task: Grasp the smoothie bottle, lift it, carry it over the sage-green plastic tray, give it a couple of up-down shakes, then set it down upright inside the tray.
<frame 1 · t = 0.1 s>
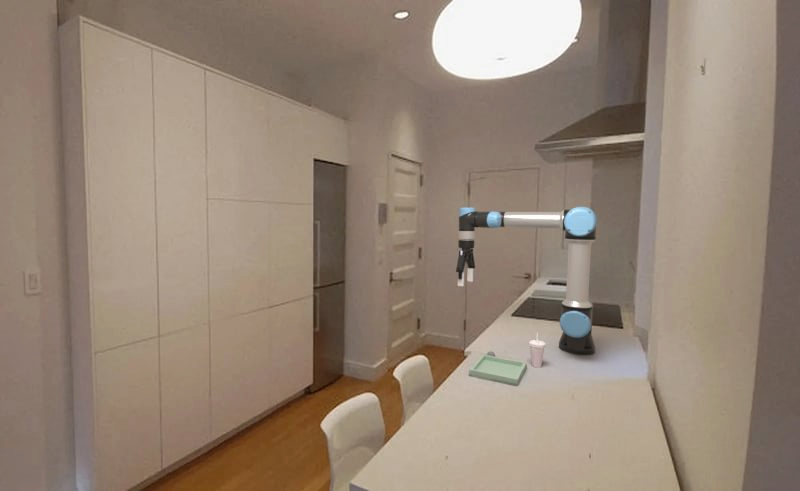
hand: (465, 283, 186), 28 cm above the worktop, fingers open, 13 cm apart
mixing ball: (490, 359, 163), on the worktop
tray: (498, 372, 151), on the worktop
smoothie: (536, 366, 158), on the worktop
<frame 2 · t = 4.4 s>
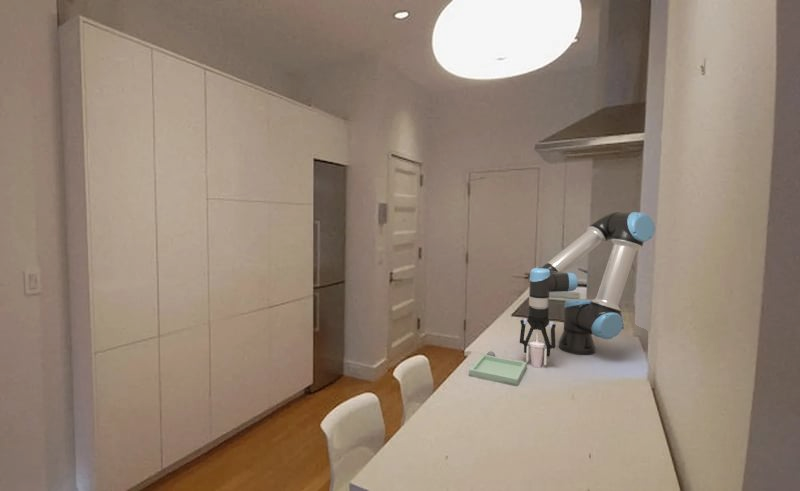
hand: (536, 362, 157), 1 cm above the worktop, fingers closed on smoothie, 6 cm apart
smoothie: (536, 366, 158), on the worktop, touching gripper
everything else where it was.
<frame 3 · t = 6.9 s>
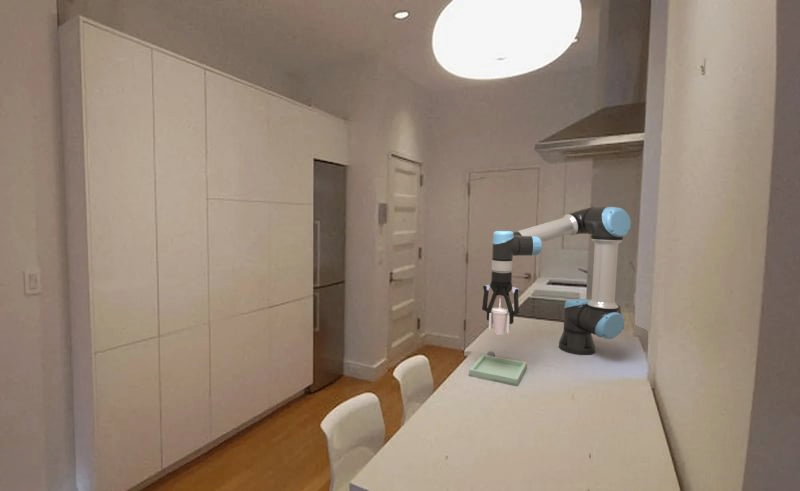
hand: (499, 330, 149), 17 cm above the worktop, fingers closed on smoothie, 6 cm apart
smoothie: (499, 334, 150), point 15 cm above the worktop, touching gripper
everything else where it was.
when the fingers open (4 cm above the worktop, at t = 9.7 s): smoothie drops 2 cm, resting on tray.
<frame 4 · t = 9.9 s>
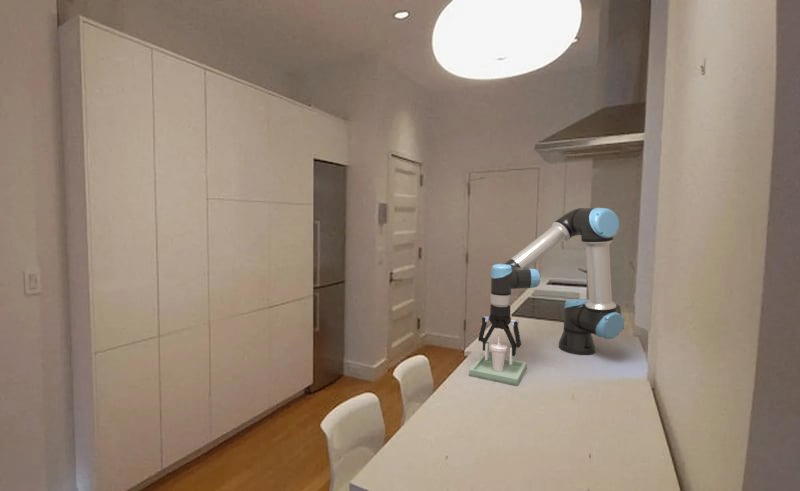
hand: (498, 361, 151), 4 cm above the worktop, fingers open, 9 cm apart
smoothie: (497, 370, 151), point 1 cm above the worktop, touching tray
everything else where it was.
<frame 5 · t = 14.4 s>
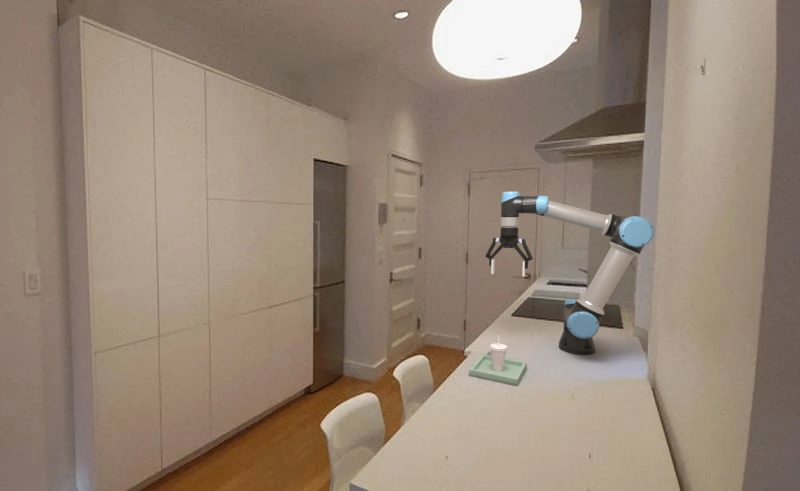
hand: (508, 274, 171), 35 cm above the worktop, fingers open, 13 cm apart
nothing on the worktop moved.
at the end: smoothie inside the target area on the tray (0.2 cm from its centre), point 0.6 cm above the tray's base; smoothie tilted 0°; the gripper is holding nothing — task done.
